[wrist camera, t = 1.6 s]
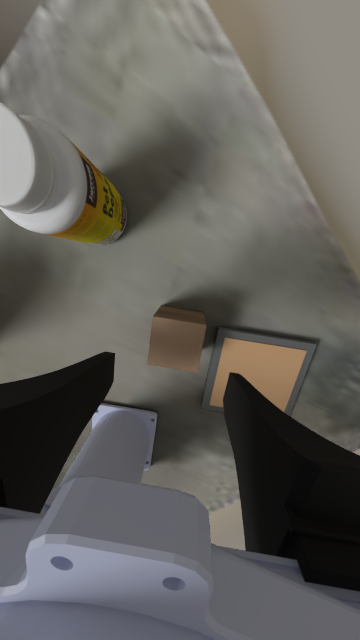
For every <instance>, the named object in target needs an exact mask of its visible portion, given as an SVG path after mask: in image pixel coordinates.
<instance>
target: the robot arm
mask: <svg viewBox="0 0 360 640" xmlns="http://www.w3.org/2000/svg"><path fill="white" fill-rule="evenodd" d="M114 362H115V353H110V352H103V353H100V354H98V355H95V356H93V357H90V358H88V359H86V360H83V361H81V362H79V363H76V364H73V365H71V366H68V367H65V368H63V369H60V370H57V371H54V372H51V373H47V374H44V375H40V376H37V377H32V378H28V379H24V380H19V381H15V382H9V383H4V384H0V640H360V456H359V455H357V454H355V453H353V452H351V451H348V450H346V449H344V448H342V447H340V446H338V445H336V444H335V443H333V442H331V441H329V440H327V439H325V438H323V437H322V436H320V435H318V434H317V433H315V432H313V431H311V430H310V429H308V428H307V427H305V426H303V425H302V424H300V423H299V422H297V421H296V420H294V419H293V418H291V417H290V416H289V415H287V414H286V413H284V412H283V411H282V410H280V409H279V408H278V407H277V406H275V405H274V404H273V403H272V402H271V401H269V400H268V399H267V398H266V397H265V396H264V395H262V394H261V393H260V392H259V391H258V390H257V389H256V388H255V387H254V386H253V385H252V384H251V383H250V382H248V381H247V380H246V379H245V378H244V377H243V376H242V375H241V374H239V373H232V372H230V373H229V377H228V381H227V385H226V389H225V393H224V397H223V408H224V416H225V420H226V424H227V429H228V433H229V437H230V441H231V445H232V449H233V453H234V458H235V463H236V470H237V477H238V484H239V492H240V500H241V508H242V517H243V526H244V536H245V547H246V551H243V550H238V549H233V548H227V547H221V546H216V545H214V544H212V543H211V539H210V524H209V514H208V510H207V509H206V508H205V507H204V506H203V505H202V504H201V502H200V501H199V500H198V499H197V498H196V497H195V496H193V495H190V494H188V493H185V492H182V491H180V490H176V489H170V488H164V487H158V486H153V485H147V484H141V478H142V474H143V470H146V471H147V470H149V469H150V465H151V458H152V451H153V444H154V437H155V430H156V422H157V413H156V412H153V411H147V410H141V409H135V408H129V407H123V406H117V405H111V404H105V403H102V402H103V400H104V399H105V397H106V395H107V393H108V392H109V390H110V388H111V385H112V383H113V380H114ZM92 416H93V417H92ZM91 418H92V432H91V433H90V435H89V437H88V438H87V440H86V442H85V443H84V445H83V447H82V448H81V450H80V452H79V453H78V455H77V457H76V458H75V460H74V462H73V463H72V465H71V467H70V468H69V470H68V472H67V473H66V475H65V477H64V478H63V480H62V482H61V483H60V485H59V487H55V488H54V490H53V491H52V493H51V494H50V492H51V490H52V488H53V486H54V484H55V482H56V480H57V478H58V476H59V474H60V472H61V470H62V468H63V466H64V464H65V462H66V460H67V458H68V456H69V454H70V453H71V451H72V449H73V447H74V445H75V443H76V442H77V440H78V438H79V436H80V434H81V433H82V431H83V430H84V428H85V426H86V425H87V424H88V422H89V421H90V419H91ZM152 419H154V420H152ZM49 494H50V496H49ZM48 496H49V498H48ZM47 498H48V499H47ZM46 500H47V501H46ZM45 502H46V503H45Z"/></svg>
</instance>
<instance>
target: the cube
mask: <svg viewBox="0 0 360 640" xmlns="http://www.w3.org/2000/svg"><path fill="white" fill-rule="evenodd" d="M206 326H207V324H206V320H205V316H204V312H198V311H192V310H186V309H179V308H173V307H167V306H160V308H159V309H158V310H157V312H156V313H155V314H154V316H153V320H152V329H151V337H150V346H149V355H148V365H154V366H160V367H166V368H172V369H178V370H184V371H190V372H196V373H197V372H198V367H199V361H200V356H201V351H202V346H203V341H204V336H205V331H206Z"/></svg>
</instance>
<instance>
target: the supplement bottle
mask: <svg viewBox="0 0 360 640" xmlns="http://www.w3.org/2000/svg"><path fill="white" fill-rule="evenodd" d="M0 209H1V210H2V211H3V212H4V214H6V215H7V216H8V217H9V218H10V219H11V220H12V221H14V222H15V223H16V224H18V225H20V226H21V227H23V228H25V229H28V230H30V231H34V232H37V233H41V234H46V235H51V236H56V237H60V238H65V239H70V240H74V241H79V242H83V243H88V244H93V245H107V244H110V243H112V242H114V241H115V240H116V239H118V238H119V237H120V235H121V234H122V232H123V231H124V228H125V225H126V221H127V211H126V206H125V202H124V200H123V198H122V196H121V194H120V193H119V191H118V190H117V189H116V188H115V186H114V185H113V184H112V183H111V182H110V181H109V180H108V179H107V178H106V177H105V176H104V175H103V174H102V173H101V172H100V171H99V170H98V169H97V168H96V167H95V166H94V165H93V164H92V163H91V162H90V161H89V160H88V159H87V158H86V156H85V155H84V154H83V153H82V152H81V151H80V150H79V149H78V148H77V147H76V146H75V145H74V144H73V143H72V142H71V141H70V140H69V139H68V138H67V137H66V136H65V135H64V134H63V133H62V132H61V131H60V130H59V129H57V128H56V127H55V126H53V125H52V124H50V123H48V122H47V121H45V120H43V119H40V118H37V117H34V116H30V115H18V114H16V113H15V112H14V111H13V110H12V109H10V108H9V107H8V106H6V105H4V104H3V103H1V102H0Z"/></svg>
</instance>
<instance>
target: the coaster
mask: <svg viewBox="0 0 360 640" xmlns="http://www.w3.org/2000/svg"><path fill="white" fill-rule="evenodd" d="M316 346H317V344H315V343H314V342H312V341H306V340H300V339H294V338H287V337H281V336H275V335H269V334H262V333H256V332H250V331H244V330H237V329H231V328H225V327H218V328H217V333H216V337H215V342H214V346H213V351H212V356H211V360H210V365H209V370H208V374H207V379H206V384H205V388H204V393H203V397H202V402H201V409H204V410H210V411H216V412H222V413H224V408H223V397H224V393H225V389H226V385H227V381H228V377H229V373H230V372H232V373H239V374H241V375H242V376H243V377H244V378H245V379H246V380H247V381H248V382H250V383H251V384H252V385H253V386H254V387H255V388H256V389H257V390H258V391H259V392H260V393H261V394H262V395H264V396H265V397H266V398H267V399H268V400H269V401H271V402H272V403H273V404H274V405H275V406H277V407H278V408H279V409H280V410H282V411H283V412H284V413H286V414H287V415H289V416H290V414H291V411H292V408H293V406H294V403H295V401H296V398H297V395H298V393H299V390H300V387H301V385H302V382H303V380H304V377H305V374H306V372H307V369H308V366H309V364H310V361H311V359H312V356H313V353H314V351H315V348H316Z"/></svg>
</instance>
